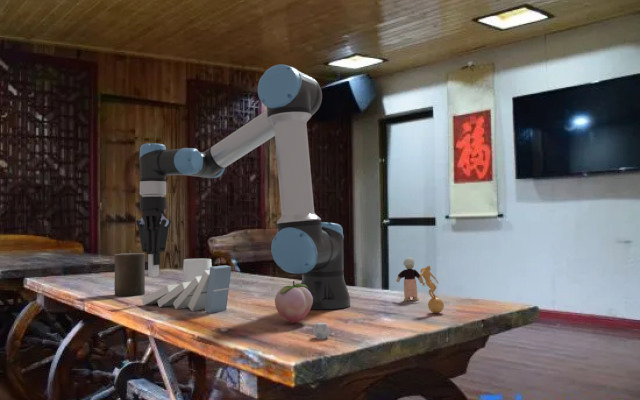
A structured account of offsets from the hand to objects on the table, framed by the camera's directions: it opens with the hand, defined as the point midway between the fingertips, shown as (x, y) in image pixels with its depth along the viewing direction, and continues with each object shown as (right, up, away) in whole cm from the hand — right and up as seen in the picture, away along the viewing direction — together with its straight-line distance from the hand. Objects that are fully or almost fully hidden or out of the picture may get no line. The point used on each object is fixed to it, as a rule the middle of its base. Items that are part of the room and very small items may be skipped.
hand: (153, 276), depth 169 cm
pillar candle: (-15, -9, +23) cm, 29 cm away
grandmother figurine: (+76, -7, +1) cm, 76 cm away
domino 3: (+10, -7, -7) cm, 14 cm away
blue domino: (+21, -7, -15) cm, 27 cm away
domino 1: (-1, -7, 0) cm, 7 cm away
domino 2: (+5, -7, -4) cm, 9 cm away
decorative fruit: (+43, -7, -34) cm, 55 cm away
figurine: (+78, -7, -22) cm, 81 cm away
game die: (+49, -6, -51) cm, 71 cm away
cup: (+10, -9, +15) cm, 20 cm away
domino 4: (+15, -7, -11) cm, 20 cm away
